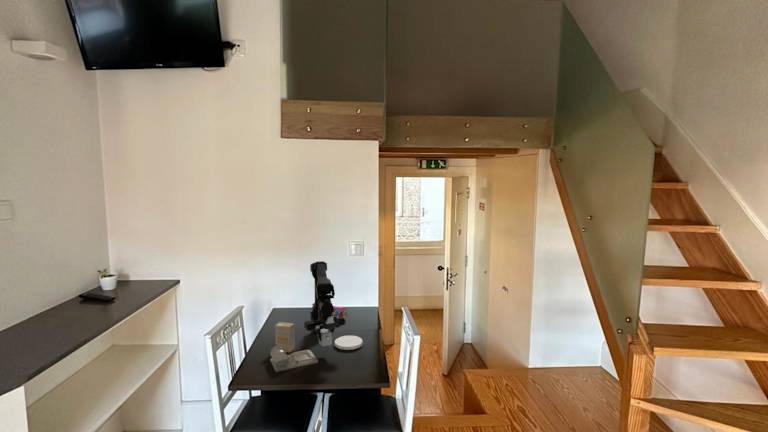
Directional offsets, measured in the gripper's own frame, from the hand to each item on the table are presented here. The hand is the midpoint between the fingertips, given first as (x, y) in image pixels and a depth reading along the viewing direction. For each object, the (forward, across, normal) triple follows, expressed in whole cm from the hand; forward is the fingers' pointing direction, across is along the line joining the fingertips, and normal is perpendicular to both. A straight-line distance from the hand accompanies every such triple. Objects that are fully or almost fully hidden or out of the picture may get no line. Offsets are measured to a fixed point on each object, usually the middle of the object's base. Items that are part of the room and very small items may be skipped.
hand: (325, 340), depth 181 cm
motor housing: (+7, -15, 0) cm, 17 cm away
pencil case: (+8, +17, +44) cm, 48 cm away
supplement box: (+7, -16, +14) cm, 22 cm away
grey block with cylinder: (+1, 0, 0) cm, 1 cm away
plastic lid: (+8, +14, +5) cm, 17 cm away
